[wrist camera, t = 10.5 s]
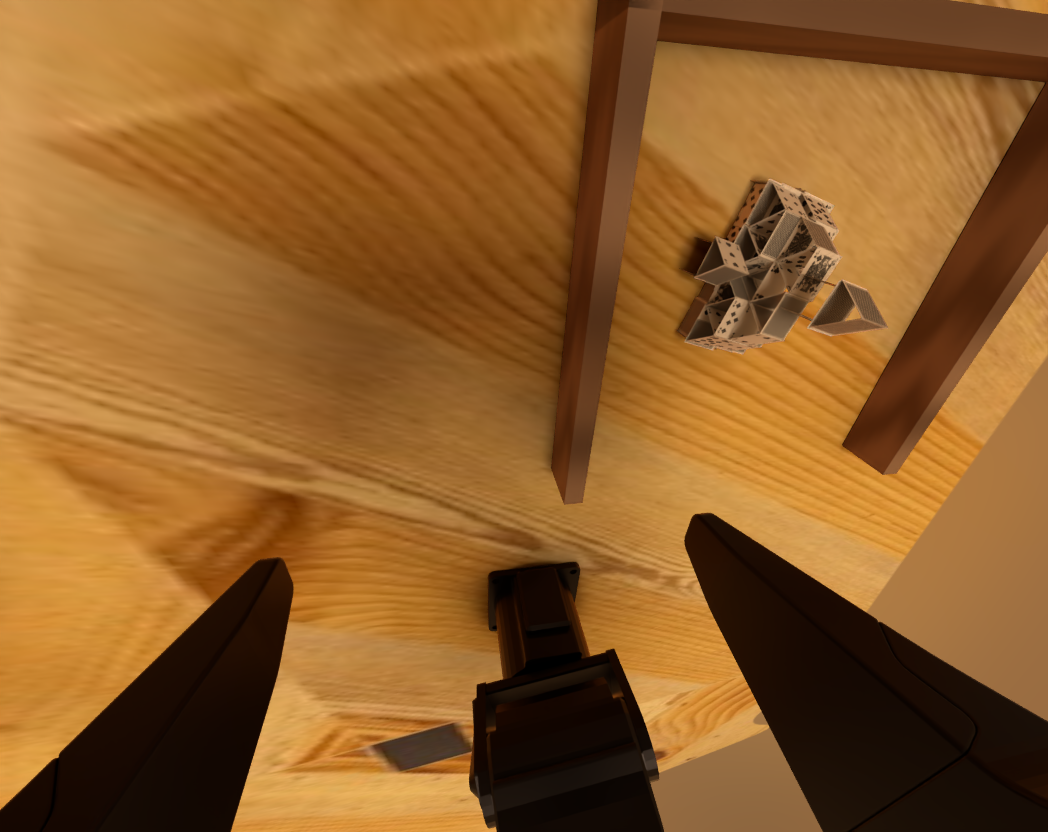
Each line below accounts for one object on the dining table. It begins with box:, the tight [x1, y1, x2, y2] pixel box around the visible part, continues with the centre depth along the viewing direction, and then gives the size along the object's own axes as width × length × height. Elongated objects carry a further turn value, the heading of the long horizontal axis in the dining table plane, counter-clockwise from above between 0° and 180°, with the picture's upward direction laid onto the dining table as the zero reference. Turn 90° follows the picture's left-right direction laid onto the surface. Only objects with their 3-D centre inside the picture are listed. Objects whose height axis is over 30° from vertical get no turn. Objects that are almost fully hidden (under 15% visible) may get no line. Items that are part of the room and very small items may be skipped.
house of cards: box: [675, 178, 889, 354], centre depth 15 cm, size 9×9×8 cm
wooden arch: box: [551, 0, 1048, 504], centre depth 19 cm, size 20×21×3 cm
